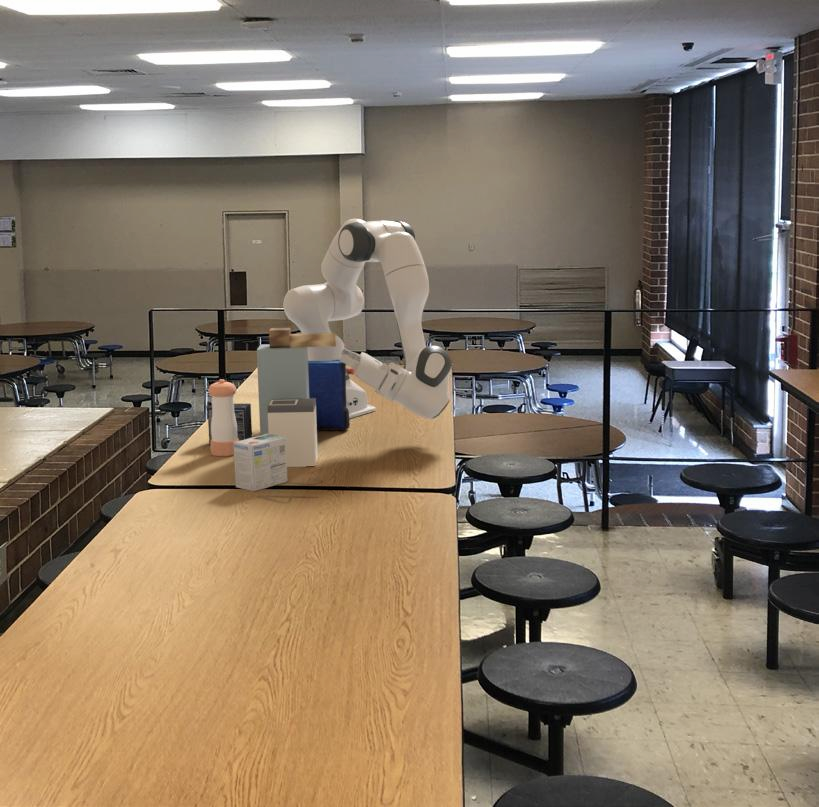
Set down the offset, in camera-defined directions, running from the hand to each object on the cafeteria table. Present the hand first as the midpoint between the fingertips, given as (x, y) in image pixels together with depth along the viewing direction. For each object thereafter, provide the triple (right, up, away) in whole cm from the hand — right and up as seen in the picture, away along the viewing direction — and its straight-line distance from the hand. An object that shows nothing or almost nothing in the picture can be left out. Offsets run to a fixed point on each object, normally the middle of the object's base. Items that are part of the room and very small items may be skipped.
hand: (341, 353), depth 284 cm
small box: (-30, -23, +14) cm, 41 cm away
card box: (-11, -27, -8) cm, 31 cm away
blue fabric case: (-7, -20, +28) cm, 35 cm away
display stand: (-15, -25, +4) cm, 29 cm away
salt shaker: (-30, -26, +3) cm, 39 cm away
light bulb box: (-17, -31, -29) cm, 46 cm away
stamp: (-10, +2, -1) cm, 10 cm away
